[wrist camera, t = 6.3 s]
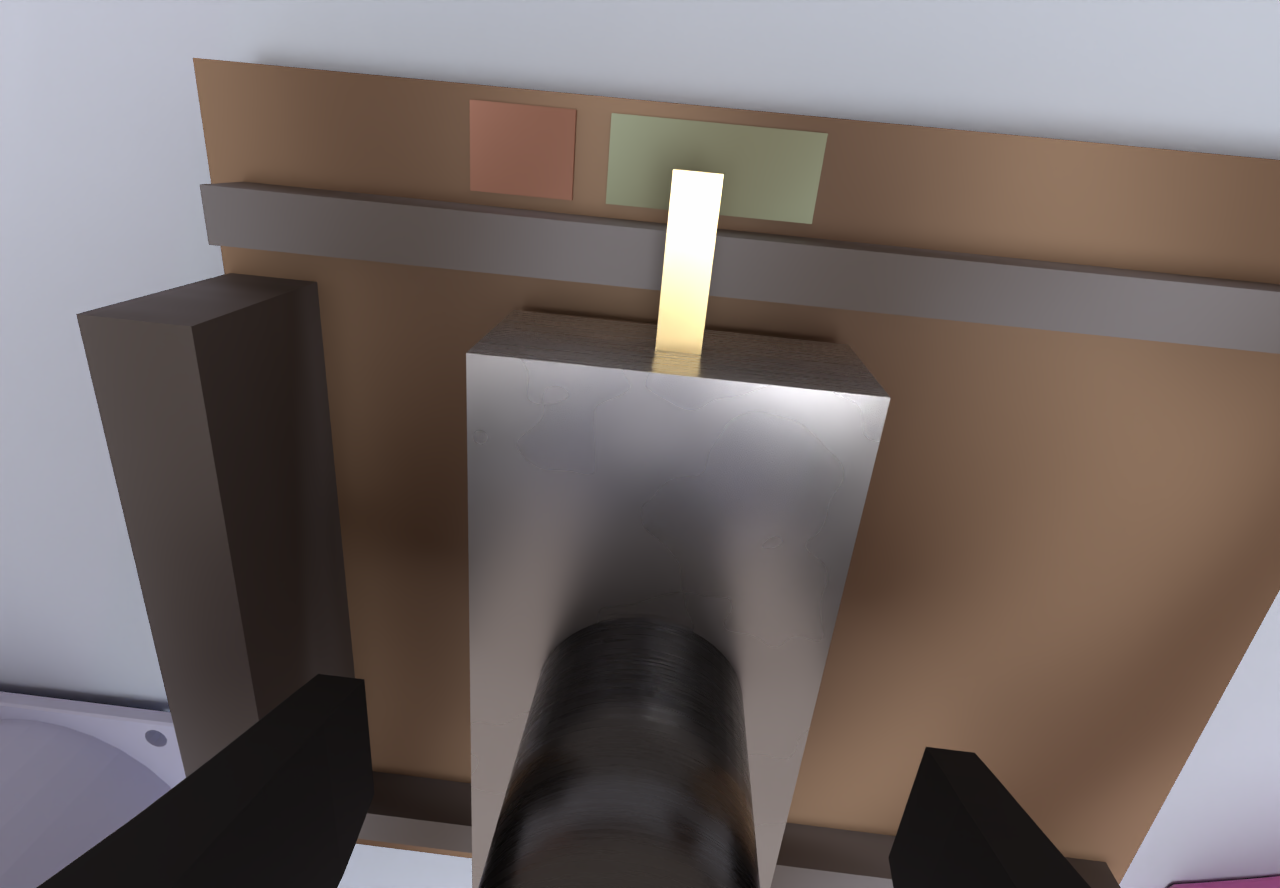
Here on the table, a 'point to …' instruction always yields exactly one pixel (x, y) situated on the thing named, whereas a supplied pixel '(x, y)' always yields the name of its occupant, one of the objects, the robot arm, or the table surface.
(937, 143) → the press base
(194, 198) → the table surface
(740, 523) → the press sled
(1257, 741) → the table surface
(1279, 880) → the gum box
